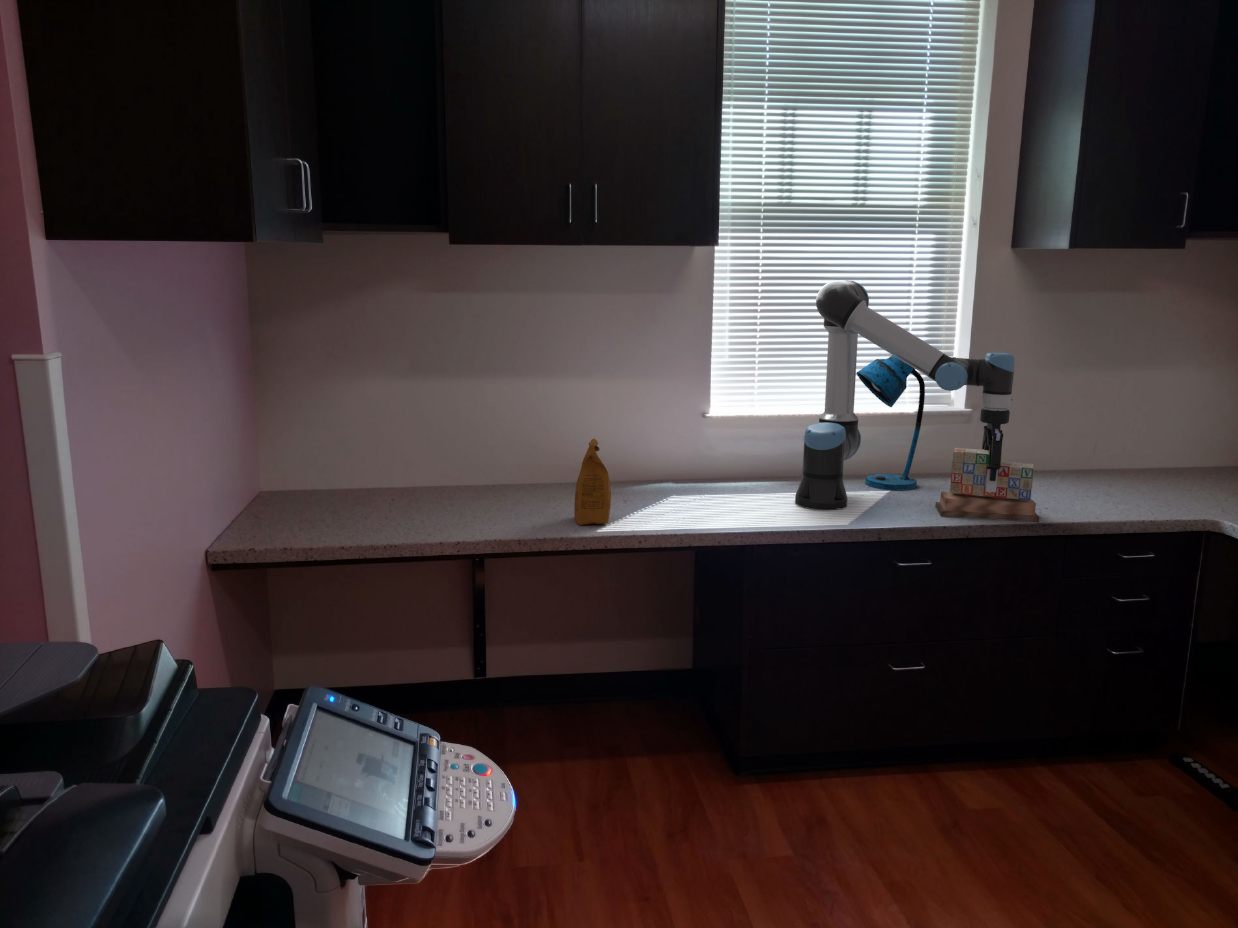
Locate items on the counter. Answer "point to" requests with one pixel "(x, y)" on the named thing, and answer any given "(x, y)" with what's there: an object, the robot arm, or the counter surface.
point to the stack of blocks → (973, 474)
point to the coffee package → (592, 489)
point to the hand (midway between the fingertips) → (987, 488)
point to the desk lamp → (888, 386)
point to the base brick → (986, 507)
